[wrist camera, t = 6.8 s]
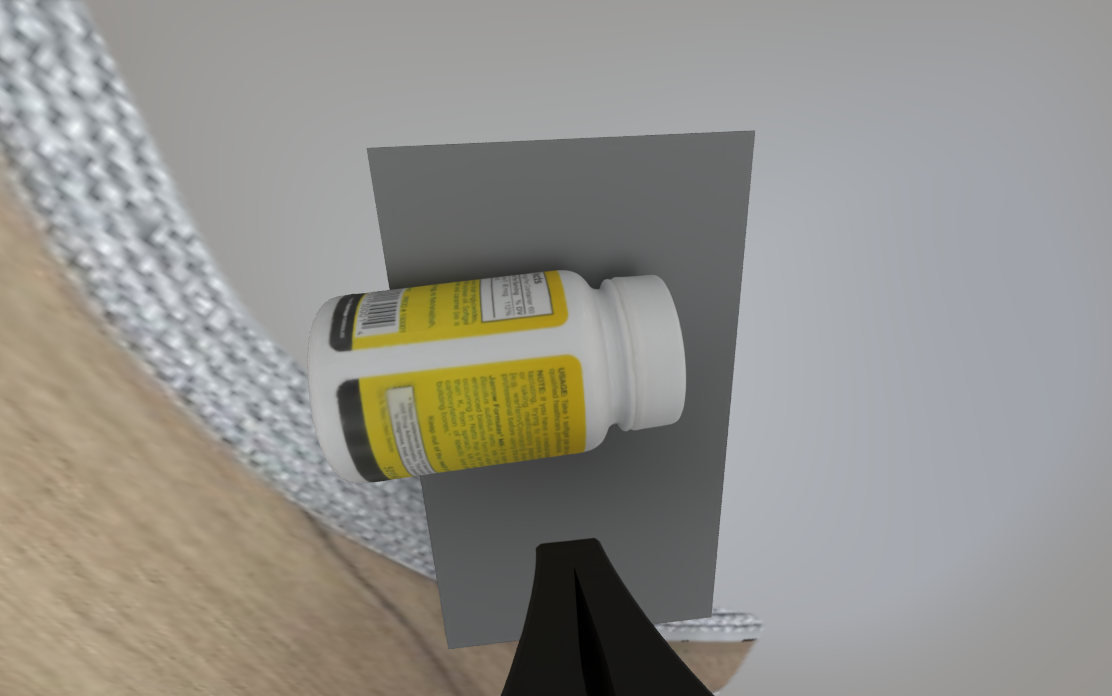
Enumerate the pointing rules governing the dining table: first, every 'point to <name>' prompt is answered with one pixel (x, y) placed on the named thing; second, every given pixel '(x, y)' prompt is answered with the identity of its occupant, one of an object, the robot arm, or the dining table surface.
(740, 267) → the mat
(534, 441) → the supplement bottle
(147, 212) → the dining table surface
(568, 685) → the robot arm
